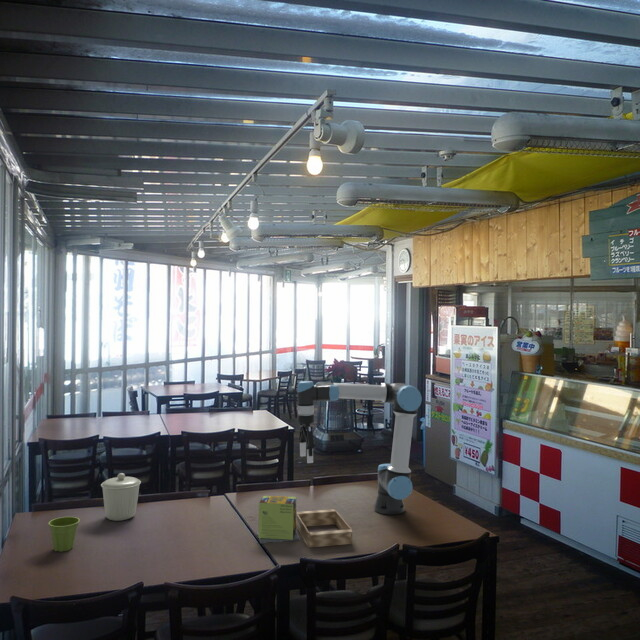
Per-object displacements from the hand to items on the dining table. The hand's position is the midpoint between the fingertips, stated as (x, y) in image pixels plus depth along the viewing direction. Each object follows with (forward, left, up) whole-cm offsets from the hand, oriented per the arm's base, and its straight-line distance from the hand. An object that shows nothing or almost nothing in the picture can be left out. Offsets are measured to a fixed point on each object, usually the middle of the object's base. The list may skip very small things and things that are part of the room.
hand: (306, 459), depth 270 cm
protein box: (+16, +14, -29) cm, 36 cm away
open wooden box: (-4, +17, -30) cm, 34 cm away
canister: (+85, -26, -30) cm, 94 cm away
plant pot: (+104, +9, -30) cm, 108 cm away
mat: (+16, +15, -30) cm, 37 cm away
